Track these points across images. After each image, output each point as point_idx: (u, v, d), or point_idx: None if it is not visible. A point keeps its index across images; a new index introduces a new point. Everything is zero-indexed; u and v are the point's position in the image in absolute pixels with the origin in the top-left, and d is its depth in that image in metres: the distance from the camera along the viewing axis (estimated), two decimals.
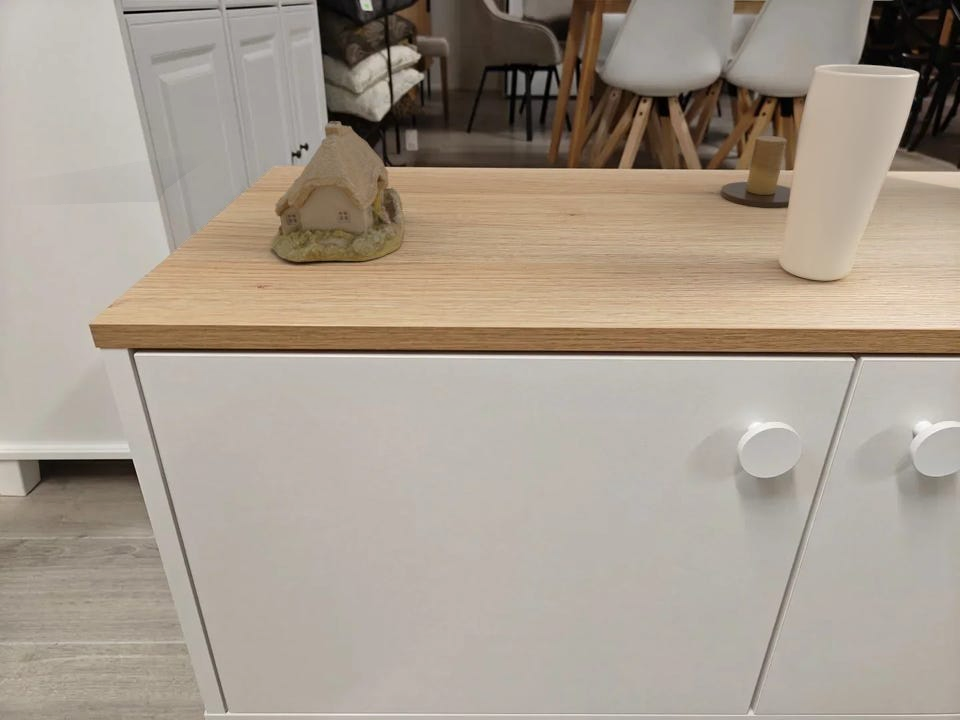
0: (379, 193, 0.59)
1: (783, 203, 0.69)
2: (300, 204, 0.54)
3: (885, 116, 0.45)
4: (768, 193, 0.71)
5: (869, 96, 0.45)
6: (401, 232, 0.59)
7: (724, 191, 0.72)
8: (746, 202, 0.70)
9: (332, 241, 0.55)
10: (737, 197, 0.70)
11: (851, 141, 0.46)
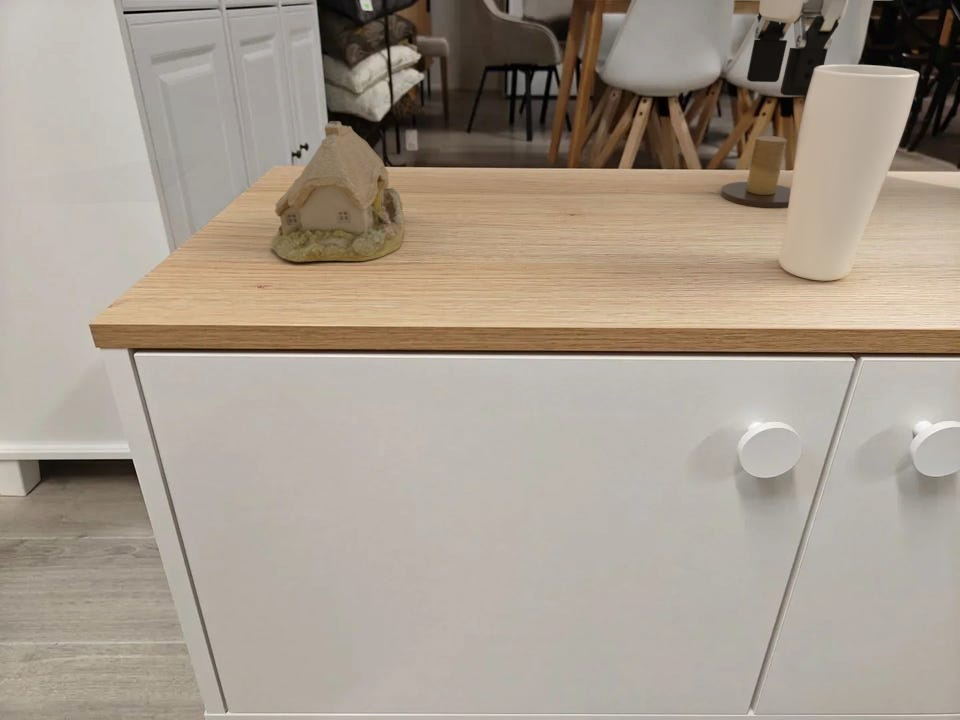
0: (379, 193, 0.59)
1: (783, 203, 0.69)
2: (300, 205, 0.54)
3: (885, 116, 0.45)
4: (768, 193, 0.71)
5: (869, 96, 0.45)
6: (401, 232, 0.59)
7: (724, 191, 0.72)
8: (746, 202, 0.70)
9: (332, 241, 0.55)
10: (737, 197, 0.70)
11: (851, 141, 0.46)
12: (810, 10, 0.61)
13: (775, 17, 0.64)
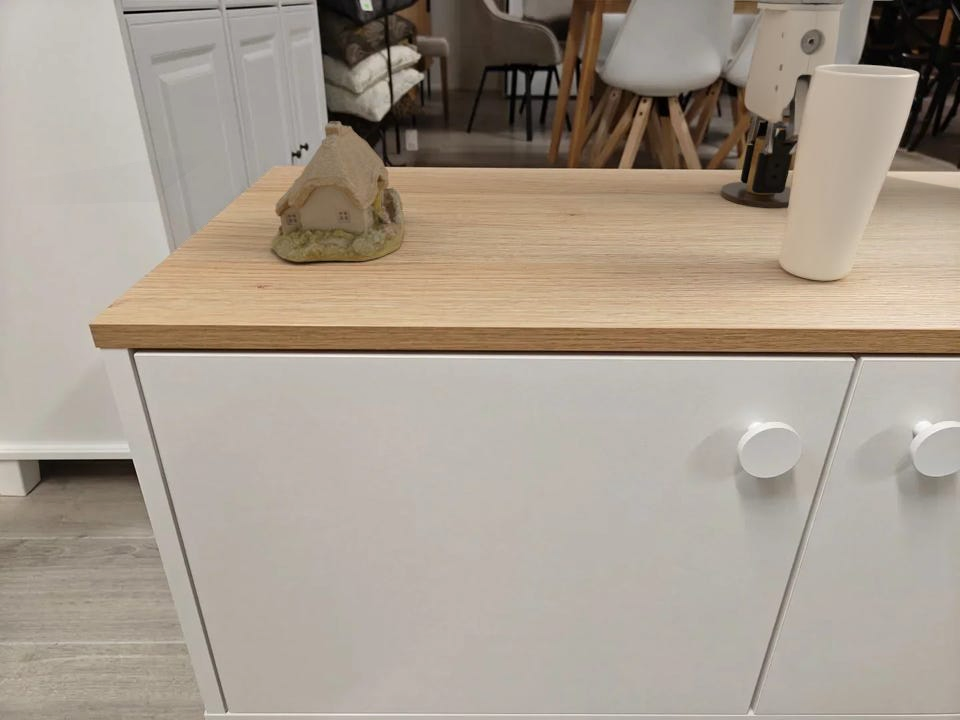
0: (379, 193, 0.59)
1: (783, 203, 0.69)
2: (300, 204, 0.54)
3: (885, 116, 0.45)
4: (768, 193, 0.71)
5: (869, 96, 0.45)
6: (401, 232, 0.59)
7: (724, 191, 0.72)
8: (746, 202, 0.70)
9: (332, 241, 0.55)
10: (737, 197, 0.70)
11: (851, 141, 0.46)
12: None
13: (758, 114, 0.68)
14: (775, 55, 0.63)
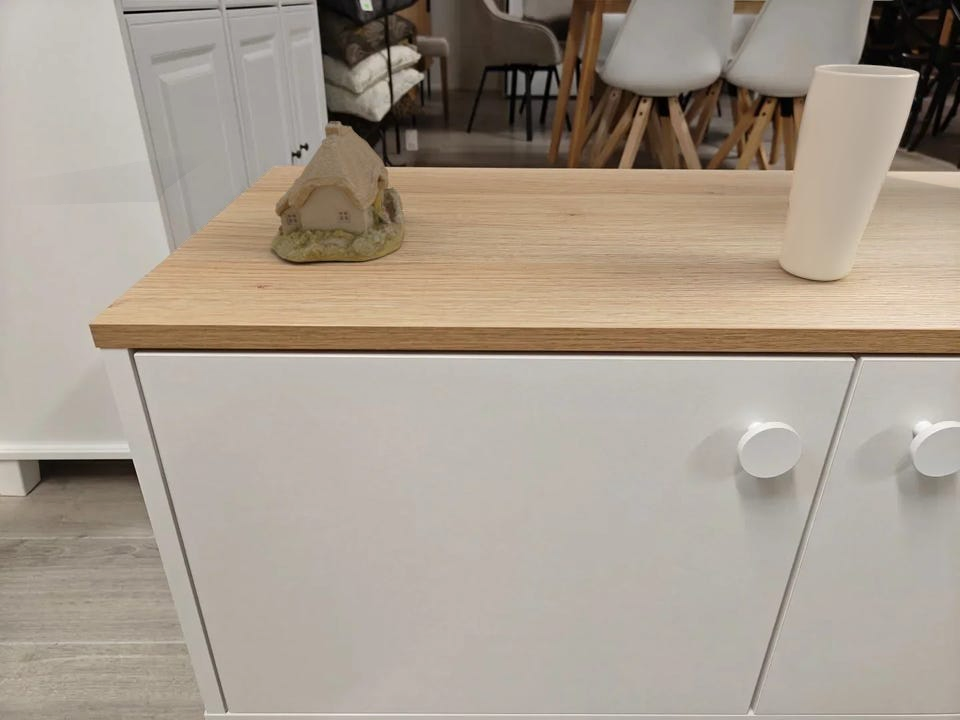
0: (379, 193, 0.59)
1: None
2: (300, 205, 0.54)
3: (885, 116, 0.45)
4: None
5: (869, 96, 0.45)
6: (401, 232, 0.59)
7: None
8: None
9: (332, 241, 0.55)
10: None
11: (851, 141, 0.46)
12: None
13: None
14: None
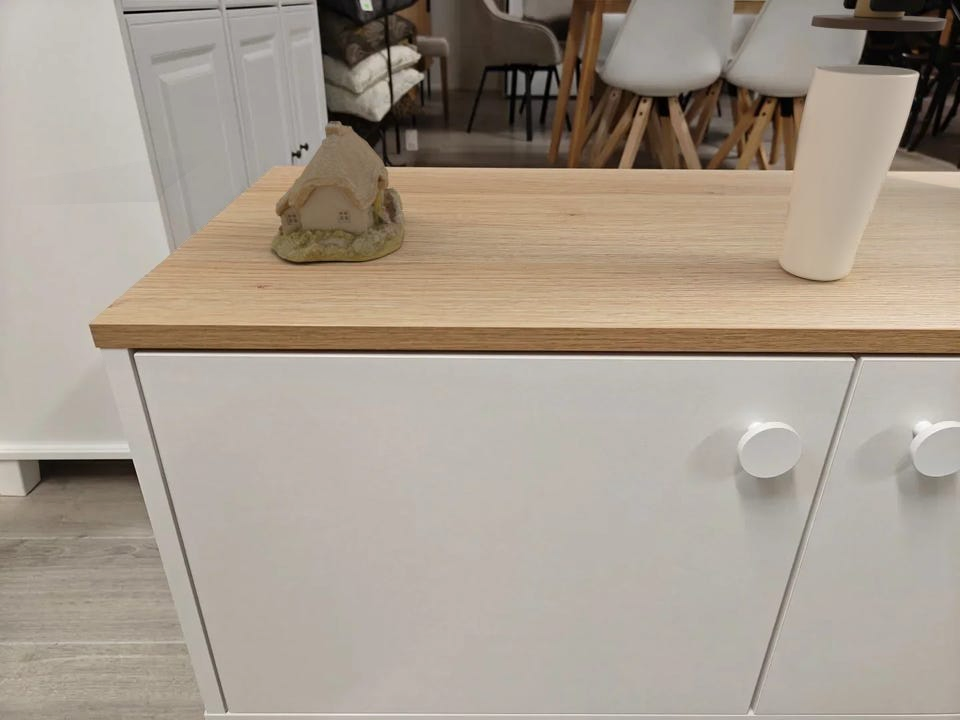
0: (379, 193, 0.59)
1: (924, 23, 0.42)
2: (300, 205, 0.54)
3: (885, 116, 0.45)
4: (894, 15, 0.44)
5: (869, 96, 0.45)
6: (401, 232, 0.59)
7: (820, 17, 0.45)
8: (861, 24, 0.43)
9: (332, 241, 0.55)
10: (845, 19, 0.43)
11: (851, 141, 0.46)
12: None
13: None
14: None
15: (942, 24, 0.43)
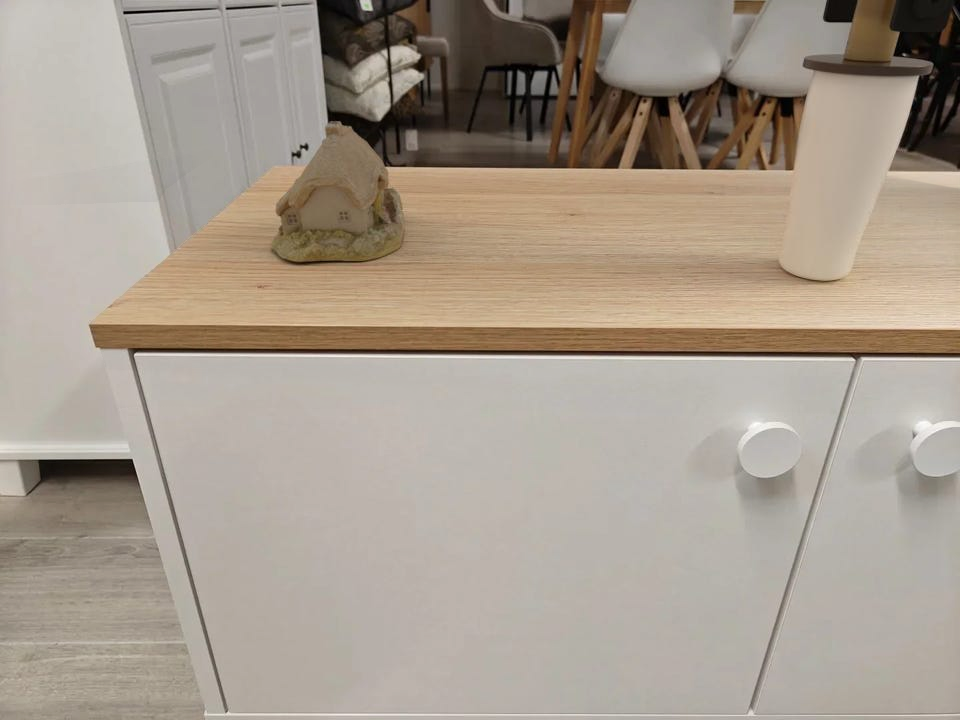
0: (379, 193, 0.59)
1: (911, 69, 0.43)
2: (300, 205, 0.54)
3: (885, 116, 0.45)
4: (882, 59, 0.45)
5: (869, 96, 0.45)
6: (401, 232, 0.59)
7: (810, 59, 0.47)
8: (850, 69, 0.44)
9: (332, 241, 0.55)
10: (835, 63, 0.45)
11: (851, 141, 0.46)
12: None
13: None
14: None
15: (929, 69, 0.44)
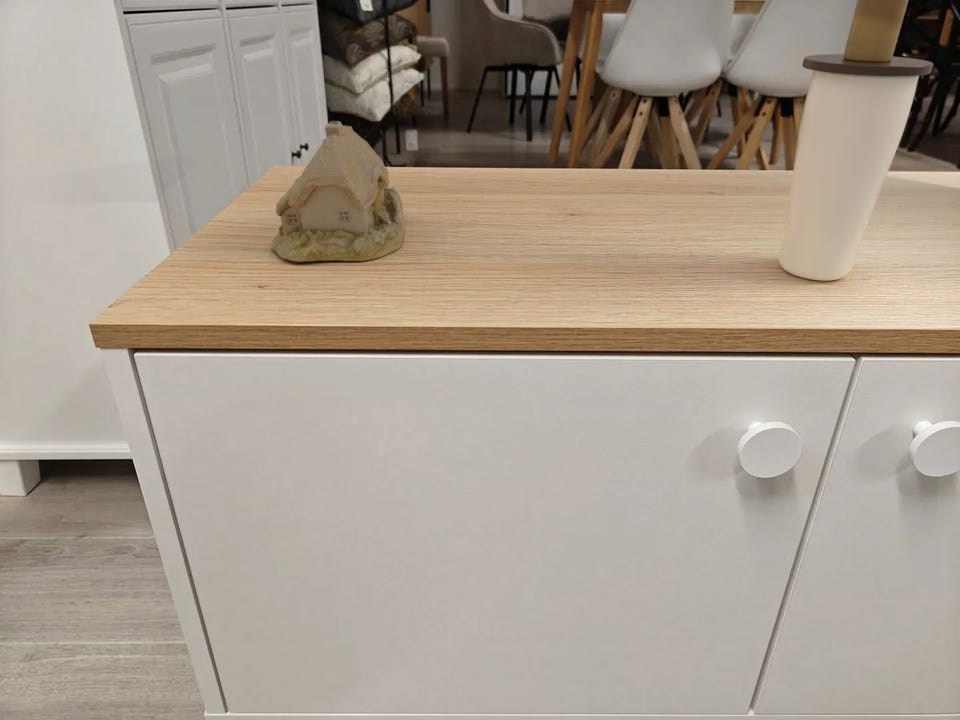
0: (379, 193, 0.59)
1: (911, 69, 0.43)
2: (300, 204, 0.54)
3: (885, 116, 0.45)
4: (882, 59, 0.45)
5: (869, 96, 0.45)
6: (401, 232, 0.59)
7: (810, 59, 0.47)
8: (850, 69, 0.44)
9: (333, 241, 0.55)
10: (835, 63, 0.45)
11: (851, 141, 0.46)
12: None
13: None
14: None
15: (929, 69, 0.44)
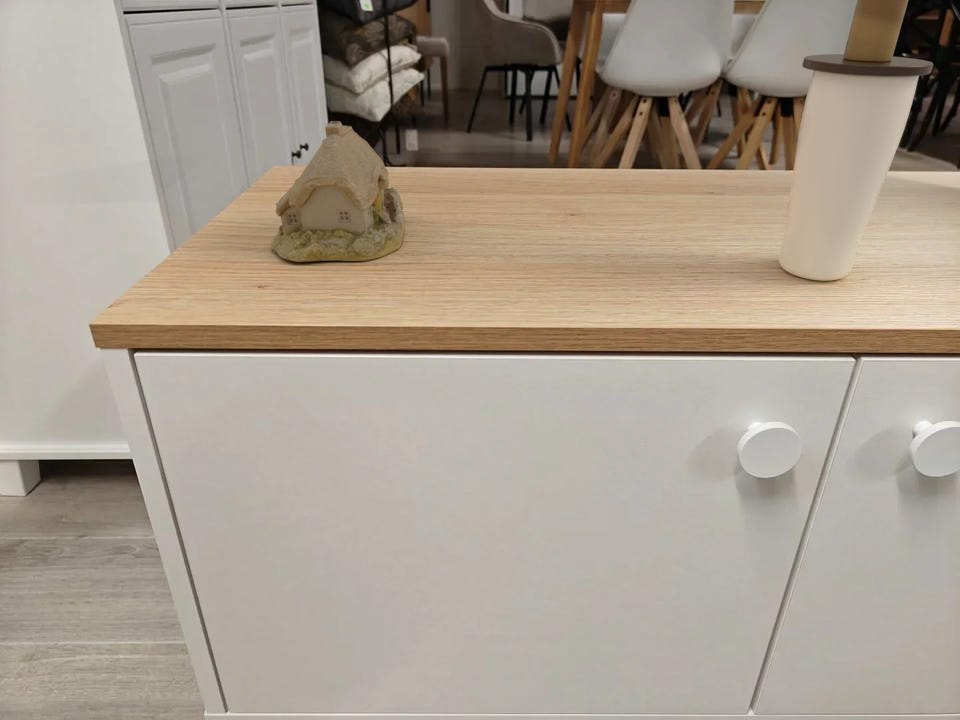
0: (379, 193, 0.59)
1: (911, 69, 0.43)
2: (300, 204, 0.54)
3: (885, 116, 0.45)
4: (882, 59, 0.45)
5: (869, 96, 0.45)
6: (402, 232, 0.59)
7: (810, 59, 0.47)
8: (850, 69, 0.44)
9: (333, 241, 0.55)
10: (835, 63, 0.45)
11: (851, 141, 0.46)
12: None
13: None
14: None
15: (929, 69, 0.44)
